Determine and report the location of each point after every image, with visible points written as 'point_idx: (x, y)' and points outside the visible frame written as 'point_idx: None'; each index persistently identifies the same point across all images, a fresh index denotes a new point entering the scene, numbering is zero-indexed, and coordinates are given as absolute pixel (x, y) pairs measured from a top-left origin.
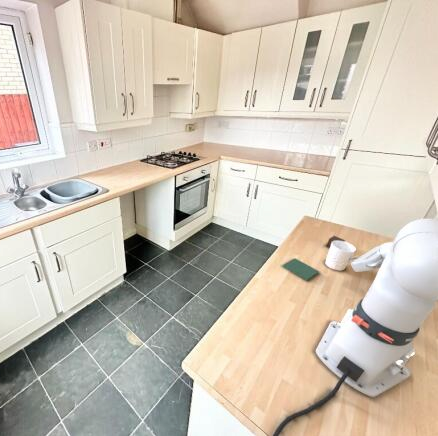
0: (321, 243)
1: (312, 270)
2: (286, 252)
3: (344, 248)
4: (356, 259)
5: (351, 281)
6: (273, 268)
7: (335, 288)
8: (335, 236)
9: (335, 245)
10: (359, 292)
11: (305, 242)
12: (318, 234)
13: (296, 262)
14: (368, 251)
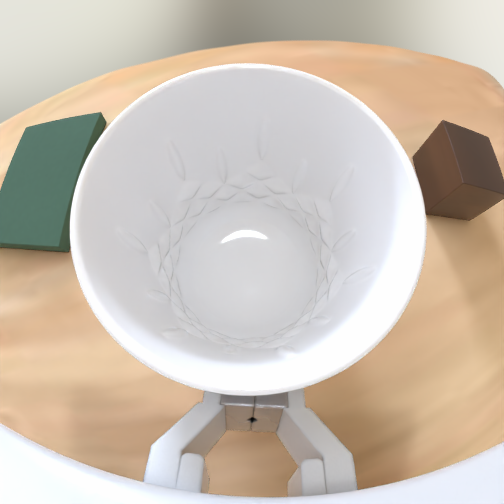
0: (414, 133)
1: (44, 219)
2: (153, 74)
3: (363, 228)
4: (8, 450)
5: (151, 420)
6: (10, 130)
7: (26, 365)
8: (488, 143)
9: (308, 138)
10: (93, 466)
11: (340, 81)
12: (458, 109)
13: (66, 137)
14: (422, 488)
